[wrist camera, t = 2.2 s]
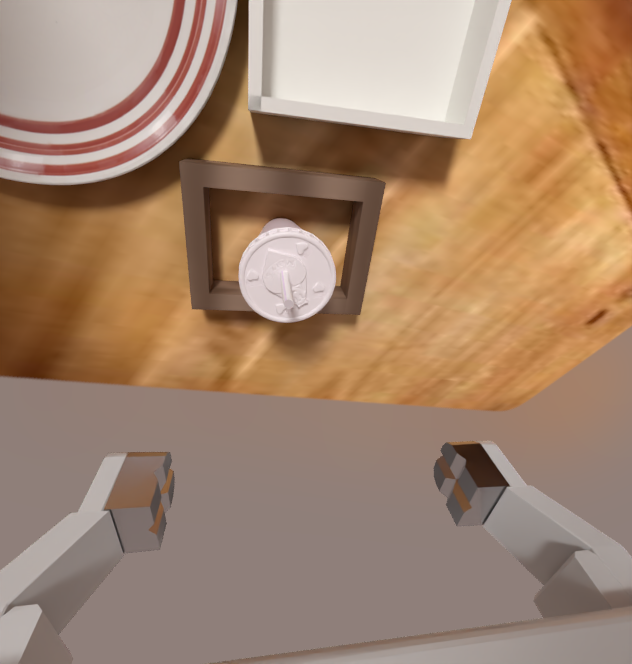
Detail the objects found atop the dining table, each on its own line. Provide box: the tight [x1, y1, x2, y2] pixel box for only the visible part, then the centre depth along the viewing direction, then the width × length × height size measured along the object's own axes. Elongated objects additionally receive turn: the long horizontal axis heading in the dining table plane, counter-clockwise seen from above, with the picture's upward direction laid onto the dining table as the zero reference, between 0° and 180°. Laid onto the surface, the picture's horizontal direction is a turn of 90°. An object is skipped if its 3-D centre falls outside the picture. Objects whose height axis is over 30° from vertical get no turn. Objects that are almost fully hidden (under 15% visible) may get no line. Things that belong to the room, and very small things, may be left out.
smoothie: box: [239, 218, 336, 323], centre depth 24 cm, size 6×6×14 cm
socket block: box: [179, 158, 386, 315], centre depth 29 cm, size 15×11×3 cm
